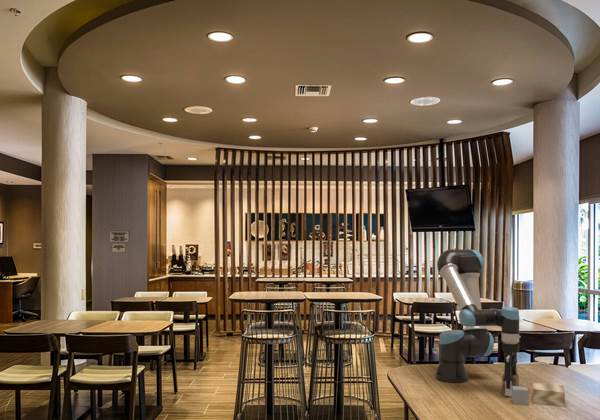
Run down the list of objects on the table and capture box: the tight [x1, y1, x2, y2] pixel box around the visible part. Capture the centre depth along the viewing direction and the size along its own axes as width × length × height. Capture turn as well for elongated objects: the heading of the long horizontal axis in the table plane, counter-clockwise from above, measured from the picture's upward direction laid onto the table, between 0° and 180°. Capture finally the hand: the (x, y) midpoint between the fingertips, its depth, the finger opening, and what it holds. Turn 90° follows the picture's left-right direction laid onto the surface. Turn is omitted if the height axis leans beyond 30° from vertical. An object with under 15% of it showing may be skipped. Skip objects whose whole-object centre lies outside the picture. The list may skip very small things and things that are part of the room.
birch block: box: [532, 382, 566, 408], centre depth 243 cm, size 12×12×6 cm
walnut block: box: [501, 374, 520, 396], centre depth 254 cm, size 6×6×8 cm
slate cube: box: [511, 385, 530, 406], centre depth 240 cm, size 6×6×6 cm
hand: (510, 393), depth 253 cm, fingers open, 9 cm apart
